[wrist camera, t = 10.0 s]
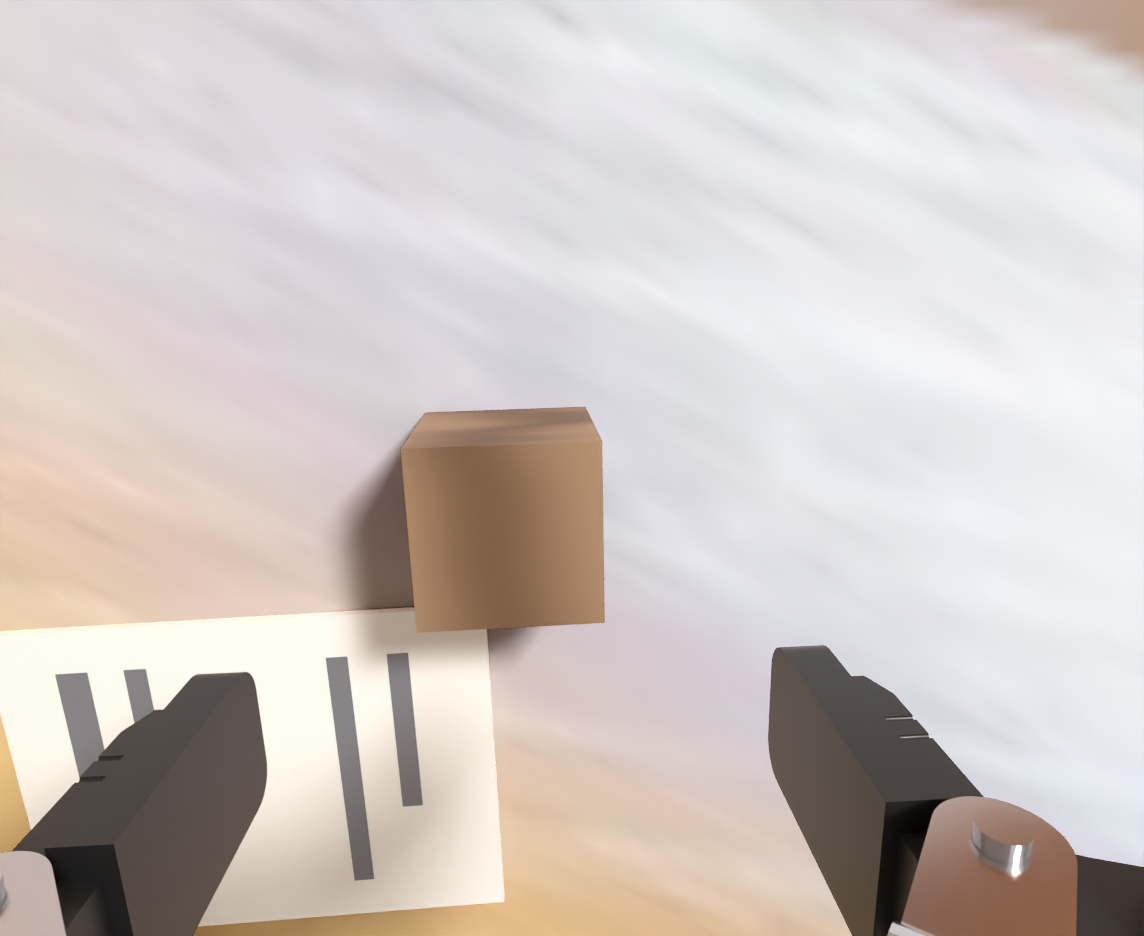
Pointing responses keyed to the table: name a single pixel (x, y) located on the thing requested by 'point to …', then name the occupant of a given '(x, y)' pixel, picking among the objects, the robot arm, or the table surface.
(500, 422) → the walnut block
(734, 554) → the table surface
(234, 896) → the letter
